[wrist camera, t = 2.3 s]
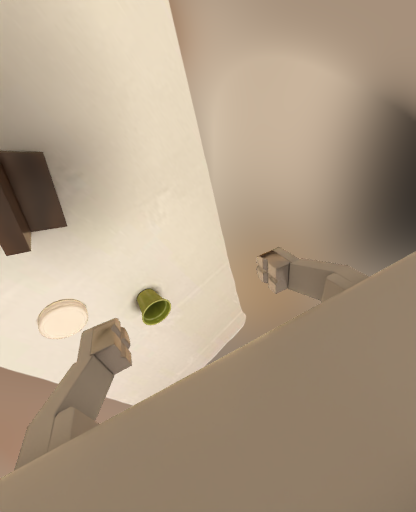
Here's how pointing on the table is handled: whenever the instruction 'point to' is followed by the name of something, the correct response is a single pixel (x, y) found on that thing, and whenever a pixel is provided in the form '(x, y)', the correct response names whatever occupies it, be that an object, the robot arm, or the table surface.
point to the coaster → (62, 319)
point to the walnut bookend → (26, 200)
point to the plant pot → (153, 307)
